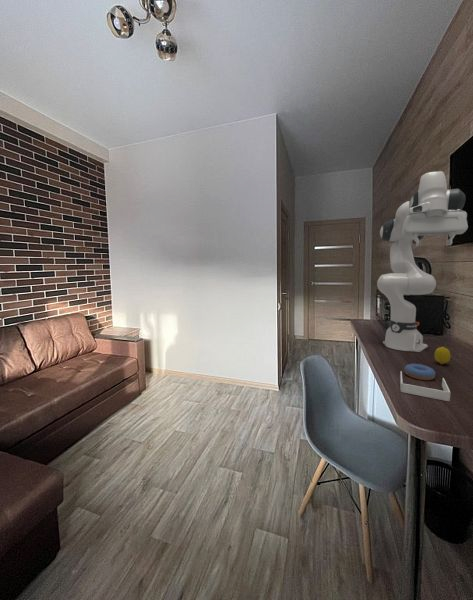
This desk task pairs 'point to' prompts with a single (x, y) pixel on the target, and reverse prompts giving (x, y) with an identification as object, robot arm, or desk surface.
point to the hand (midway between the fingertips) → (433, 245)
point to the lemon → (442, 355)
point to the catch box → (426, 390)
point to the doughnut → (420, 372)
